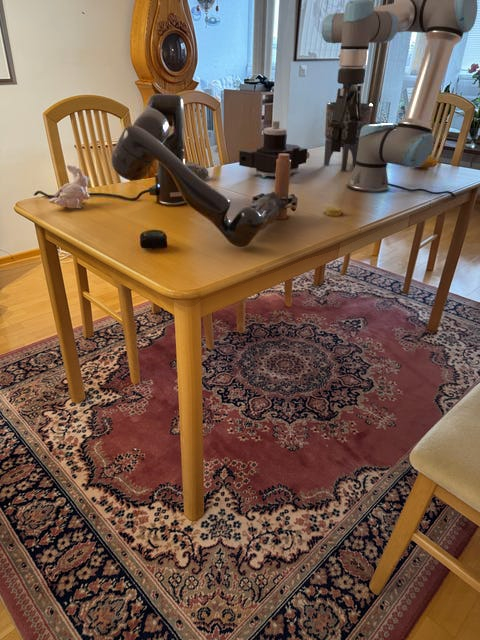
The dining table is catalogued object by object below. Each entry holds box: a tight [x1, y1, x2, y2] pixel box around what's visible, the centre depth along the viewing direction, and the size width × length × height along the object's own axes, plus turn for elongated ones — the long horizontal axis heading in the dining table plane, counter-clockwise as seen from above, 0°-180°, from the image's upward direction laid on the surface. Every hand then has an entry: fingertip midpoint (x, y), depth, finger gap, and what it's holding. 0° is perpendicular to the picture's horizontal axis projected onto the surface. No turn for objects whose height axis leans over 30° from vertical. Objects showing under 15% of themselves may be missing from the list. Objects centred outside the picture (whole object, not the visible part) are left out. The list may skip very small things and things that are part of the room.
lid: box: [325, 205, 343, 217], centre depth 147 cm, size 5×5×2 cm
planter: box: [323, 101, 374, 172], centre depth 204 cm, size 20×20×26 cm
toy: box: [419, 154, 439, 169], centre depth 213 cm, size 11×6×15 cm
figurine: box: [48, 164, 91, 209], centre depth 145 cm, size 8×15×13 cm, turn 145°
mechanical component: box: [238, 120, 311, 178], centre depth 191 cm, size 22×21×30 cm
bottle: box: [274, 153, 291, 220], centre depth 138 cm, size 4×4×19 cm
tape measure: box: [139, 229, 168, 250], centre depth 117 cm, size 7×7×4 cm
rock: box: [185, 160, 210, 180], centre depth 181 cm, size 13×9×6 cm, turn 131°
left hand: (283, 196), depth 142 cm, fingers open, 5 cm apart
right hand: (343, 147), depth 137 cm, fingers open, 13 cm apart
